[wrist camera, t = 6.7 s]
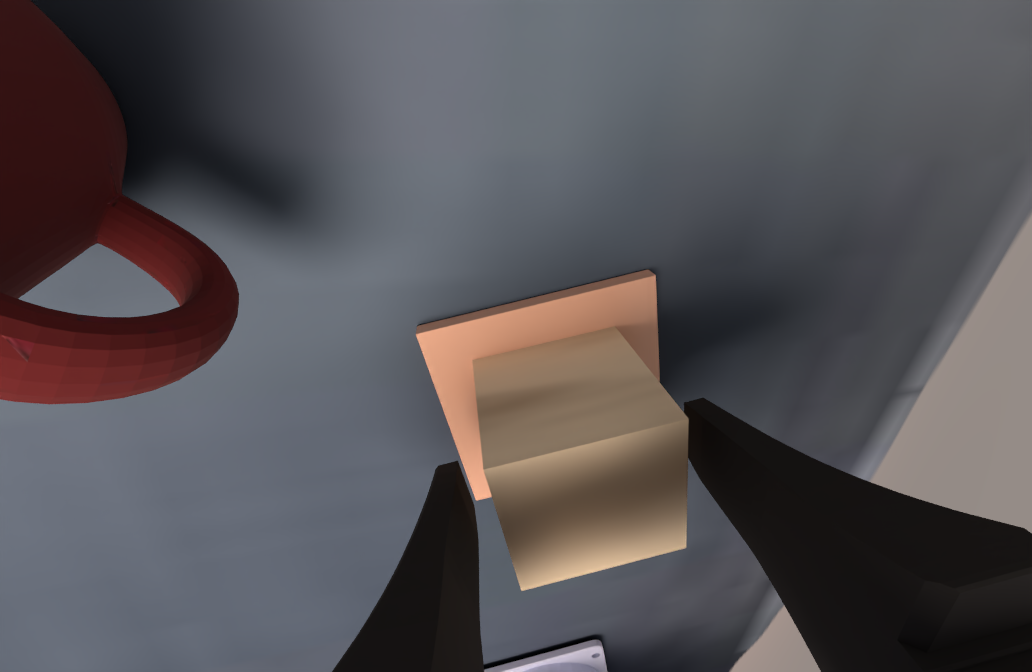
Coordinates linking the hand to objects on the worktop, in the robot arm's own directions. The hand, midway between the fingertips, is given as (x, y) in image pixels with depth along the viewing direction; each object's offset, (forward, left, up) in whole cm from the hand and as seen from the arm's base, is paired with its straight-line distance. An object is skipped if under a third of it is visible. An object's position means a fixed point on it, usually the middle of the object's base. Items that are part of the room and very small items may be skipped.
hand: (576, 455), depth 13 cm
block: (0, 0, -3) cm, 3 cm away
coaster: (0, 0, -3) cm, 3 cm away
